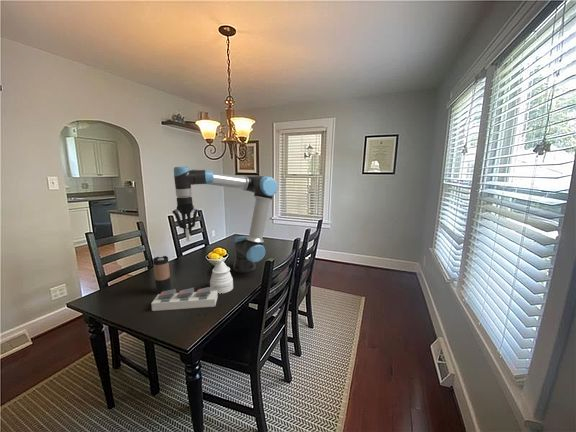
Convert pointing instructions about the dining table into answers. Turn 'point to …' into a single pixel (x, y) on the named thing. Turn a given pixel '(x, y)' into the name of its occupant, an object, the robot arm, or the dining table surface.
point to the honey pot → (221, 278)
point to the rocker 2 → (203, 291)
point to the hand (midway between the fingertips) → (188, 239)
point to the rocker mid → (185, 292)
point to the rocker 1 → (167, 294)
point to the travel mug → (161, 274)
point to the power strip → (185, 302)
